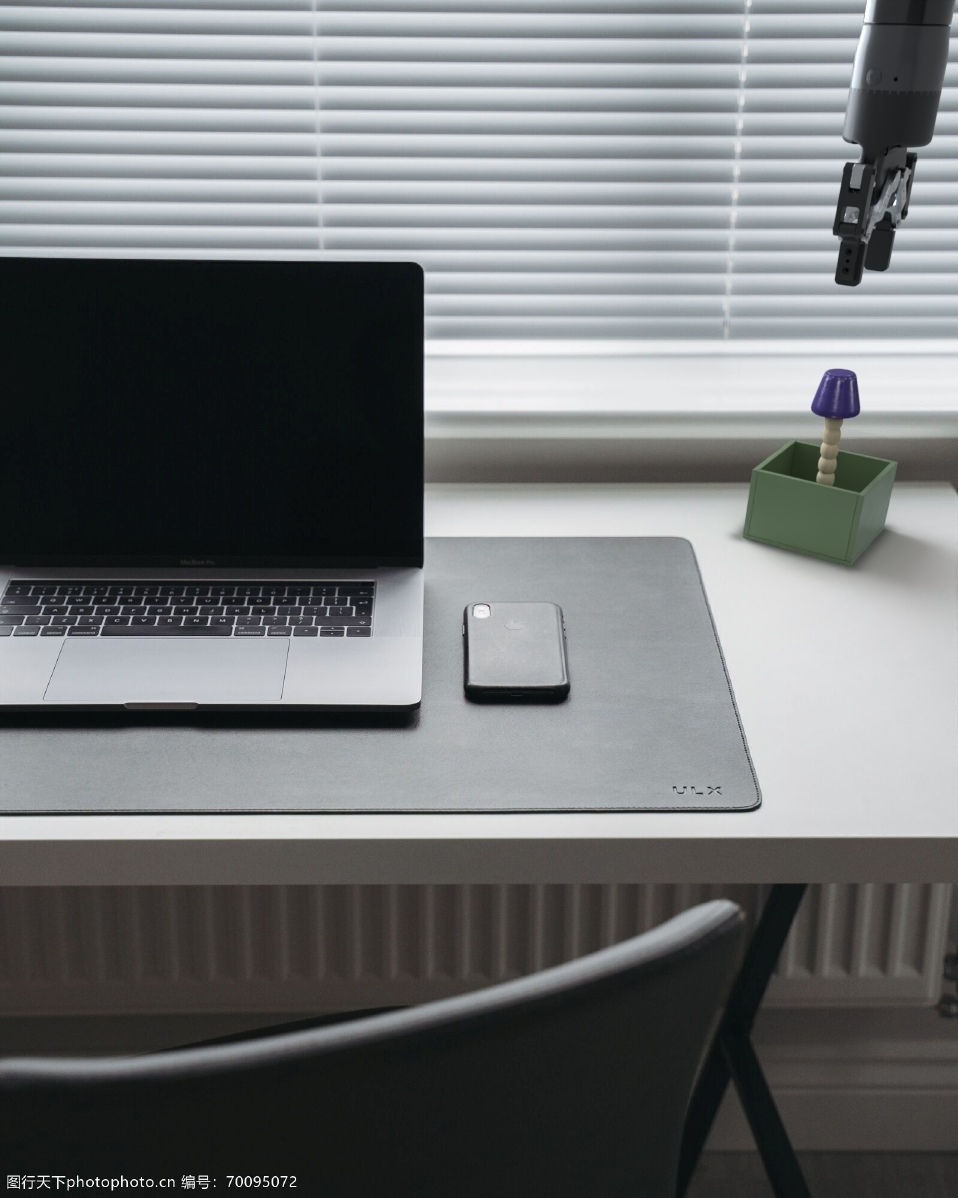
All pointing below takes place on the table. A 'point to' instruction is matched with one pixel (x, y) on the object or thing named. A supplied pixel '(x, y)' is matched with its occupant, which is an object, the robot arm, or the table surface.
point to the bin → (819, 502)
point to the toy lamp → (834, 415)
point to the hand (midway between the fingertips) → (861, 277)
